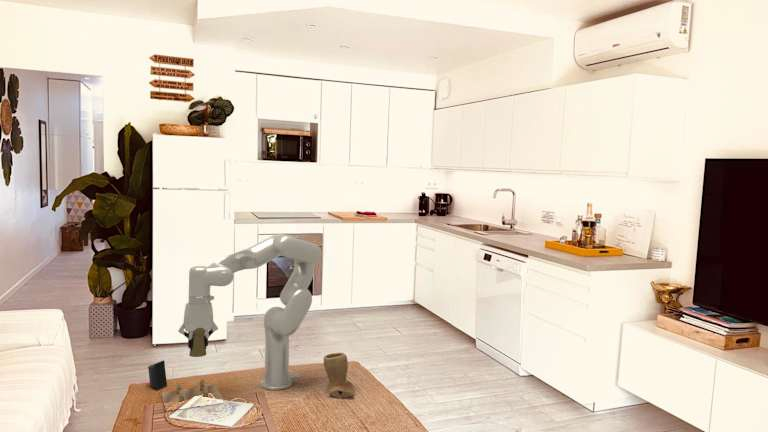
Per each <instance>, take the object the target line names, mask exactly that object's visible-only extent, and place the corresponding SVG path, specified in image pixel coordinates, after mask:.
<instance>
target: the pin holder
mask: <svg viewBox="0 0 768 432" xmlns="http://www.w3.org/2000/svg"><path fill="white" fill-rule="evenodd" d="M208 393H211V394H213V396H214V397H215V398H217V399H223V400H224V398H223V395H222V393H221V392H220V389H219V387H218V386H217V384H213V385H205V379H203V378H202V379H200V380H199V386H198V387H190V388H183V389H182V382H181V381H180V382H179V381H178V382H176V389H174V390H168V391H161V393H160V395H161V400H162V404H163V403H169V402H182V401H185V400H189V399H191V398H192V397H194V396H198V395H202V394H203V397H208Z"/></svg>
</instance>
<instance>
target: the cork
mask: <svg viewBox="0 0 768 432" xmlns="http://www.w3.org/2000/svg"><path fill="white" fill-rule="evenodd" d="M204 334H205V330H204V329H203V328H197V329H195V331H193V335H192V339H193V348H192V350H190V349H189V355H188V356H190V357H191V358H201V357H204V356H205V357H206V355H207V348H206V349H205V343H204V339H205V337H204Z"/></svg>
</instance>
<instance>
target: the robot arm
mask: <svg viewBox="0 0 768 432" xmlns="http://www.w3.org/2000/svg"><path fill="white" fill-rule="evenodd" d="M322 256H323V252H322V249H321V247H320V246H319V245H318V244H316V243H313V242H310V241H307V240H303V239H301V238H298V237H294V236H292V235H288V234H283V233H276V234H274V235H270V236H269V237H268V238H265V239H263V240H262V241H260V242H258V243H255V244H254V245H252V246H249V247H248V248H245V249H242V250H239V251H236V252H234V253H231V254H229V255H226V256H224V257H222V258H220V259H218V260H216V261H214V262H213V263H211V264H210V265H208V266H204V265H197V266H192V267H190V269H189V273H188V302H187V303H186V304H185V306H184V313H183V323H182V324H181V326H180V328H179V329H178V333H179V334H181V335H183V336H184V337H186V338H187V339H188V340H187V342H188V343H187V347H188V349H189V351H190V350H192V348H193V339H192V335H193V331H195V329H197V328H203V329H204V330H205V334H204V337H205V339H204V343H205V349H206V350H207V347H208V346H209V338H210V337H211V335H213V333H214V332H216V331H217V330H219V327H218V326H217V325H216V323H215V321H214V311H213V305H212V301H213V300H215V296H213V295H211V286H213V287H226V286H229V285H231V283H232V282H233V281H234V278H235V277H234V274H235V273H237V272H240V271H244V270H252V269H256V268H257V269H258V268H261V267H262V266H264V265H265V264H268V263H269V262H271V261H273V260H275V259H277V258H279V257H285V258H287V259H291V260H293V261H294V262H293V263H294V267H293V270H292V273H291V275H290V277H289V278H288V280H287V282H286V283H285V285H284V287H283V289H282V290H281V292H280V294H279V301H280V302H281V304H283V305H284V306H285V307H284V308H283V307H280V306H273V307H270V308H268V309H267V311H266V312H265V313H264V317H263V327H264V334H265V336H264V337H265V343H264V345H265V347H264V351H265V352H264V379H262V380H261V381H260V387H262V388H263V389H265V390H272V391H278V390H279V391H280V390H284V389H288V388H290V387H291V386H292V385H293V379H294V380H295V379H300V378H301V374H300V373H298V372H297V373H296V372H295V371H294V372H290V369H289V367H290V362H289V361H290V336H292V335H294V334H295V333H296V332H297V330H299V328H300V327H301V324H302V322H303V321H304V319H305V317H306V316H307V314H308V312H309V310H310V309H311V306H312V302H313V295H312V293H311V291H310V290H309V286H310V284H311V282H312V281H313V278H314V273H315V266H314V265H316V264H318V263H319V262H320V261H321V259H322Z"/></svg>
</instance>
